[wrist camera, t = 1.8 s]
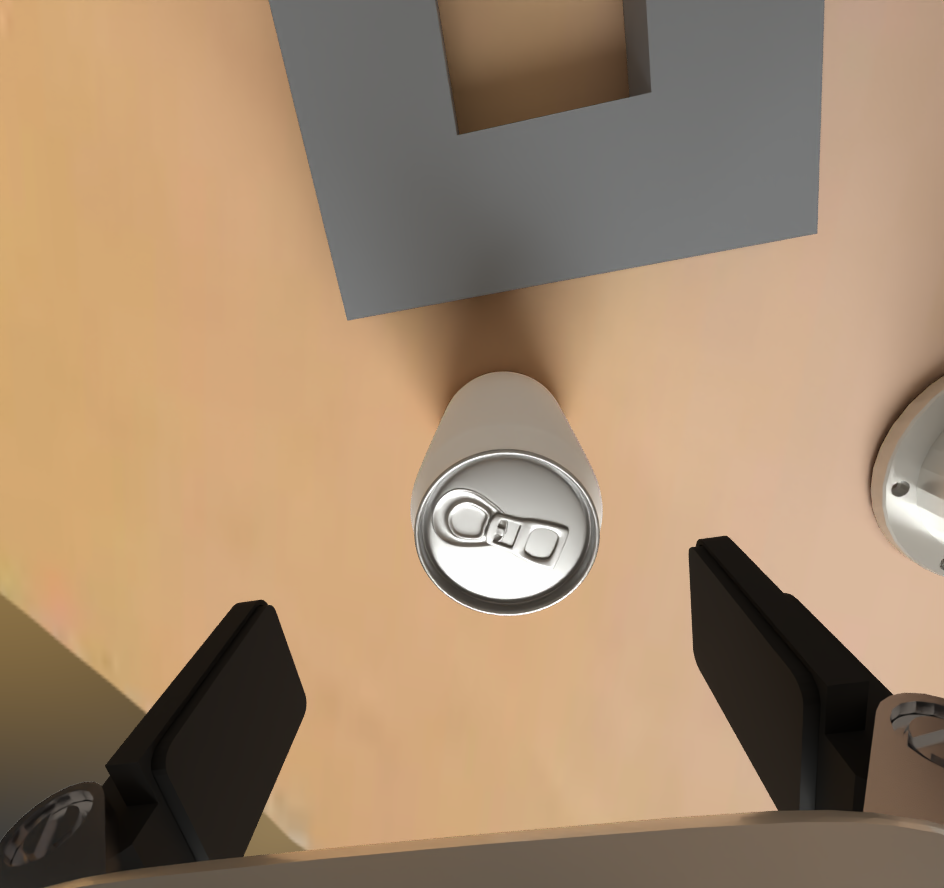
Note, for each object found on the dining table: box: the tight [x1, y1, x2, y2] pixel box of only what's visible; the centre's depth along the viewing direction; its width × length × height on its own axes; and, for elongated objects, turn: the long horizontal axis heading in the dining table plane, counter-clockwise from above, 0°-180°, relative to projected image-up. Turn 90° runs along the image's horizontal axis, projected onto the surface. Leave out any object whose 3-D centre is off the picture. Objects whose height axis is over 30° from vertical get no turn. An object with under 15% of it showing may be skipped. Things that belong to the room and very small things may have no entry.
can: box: [411, 371, 603, 616], centre depth 20 cm, size 6×6×12 cm
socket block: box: [269, 0, 824, 321], centre depth 19 cm, size 20×20×3 cm
